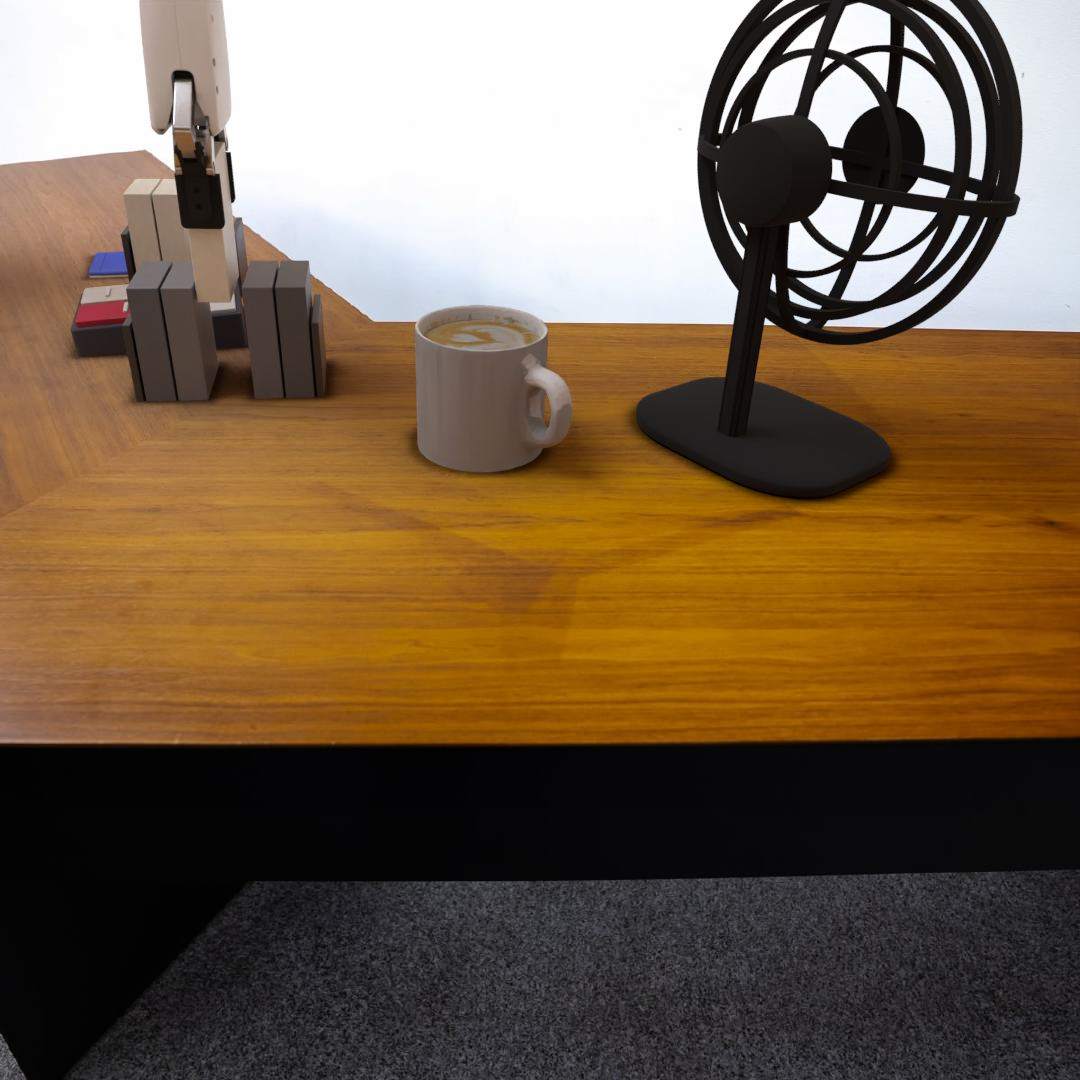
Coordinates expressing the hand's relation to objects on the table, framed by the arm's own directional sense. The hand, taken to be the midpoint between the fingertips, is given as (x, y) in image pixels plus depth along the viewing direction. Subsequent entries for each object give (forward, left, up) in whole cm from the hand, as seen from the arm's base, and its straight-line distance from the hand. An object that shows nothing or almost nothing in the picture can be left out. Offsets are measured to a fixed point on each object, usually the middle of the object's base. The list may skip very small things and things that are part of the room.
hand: (209, 212), depth 79 cm
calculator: (-8, +13, -15) cm, 21 cm away
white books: (-8, +27, -15) cm, 32 cm away
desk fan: (+44, -14, -15) cm, 49 cm away
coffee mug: (+21, -15, -15) cm, 30 cm away
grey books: (0, 0, -15) cm, 15 cm away
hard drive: (-13, +35, -15) cm, 40 cm away
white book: (0, 0, -6) cm, 6 cm away
